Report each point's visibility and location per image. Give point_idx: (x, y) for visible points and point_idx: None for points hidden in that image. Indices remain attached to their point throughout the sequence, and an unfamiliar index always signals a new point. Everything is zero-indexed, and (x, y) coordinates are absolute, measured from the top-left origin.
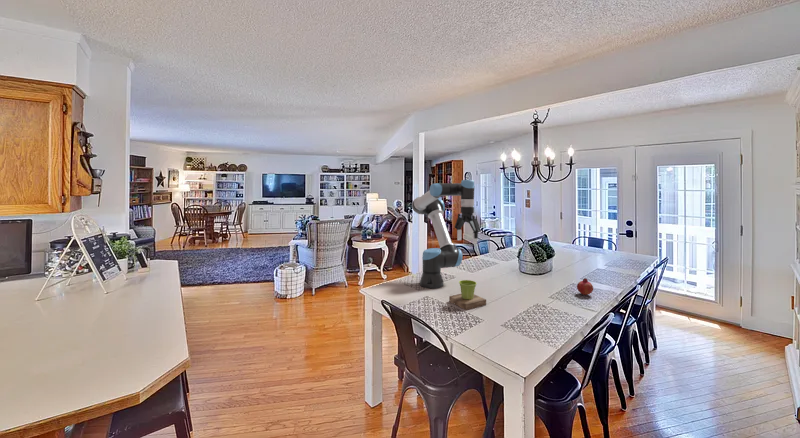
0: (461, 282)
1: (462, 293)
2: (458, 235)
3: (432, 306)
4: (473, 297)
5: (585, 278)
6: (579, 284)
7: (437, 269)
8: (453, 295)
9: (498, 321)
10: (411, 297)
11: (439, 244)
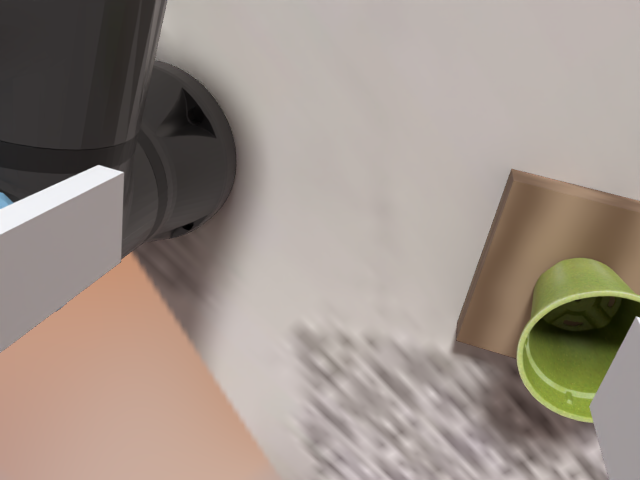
0: (525, 345)
1: (563, 353)
2: (45, 307)
3: (433, 430)
4: (611, 259)
5: None
6: None
7: (147, 205)
8: (469, 314)
9: None
10: (260, 396)
11: None
